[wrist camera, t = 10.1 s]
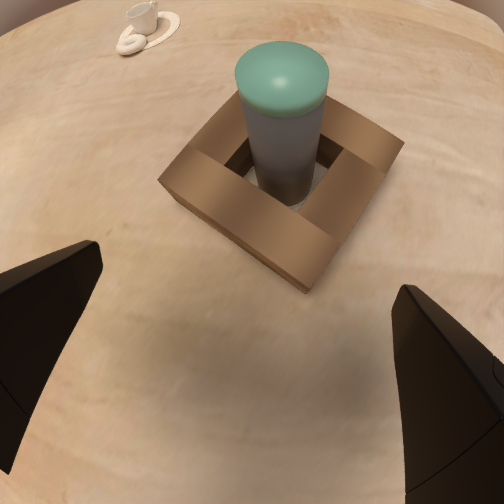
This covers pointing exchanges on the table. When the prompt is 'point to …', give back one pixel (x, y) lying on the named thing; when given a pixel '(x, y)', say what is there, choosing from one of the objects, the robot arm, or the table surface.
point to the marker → (283, 114)
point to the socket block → (271, 210)
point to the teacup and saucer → (144, 28)
